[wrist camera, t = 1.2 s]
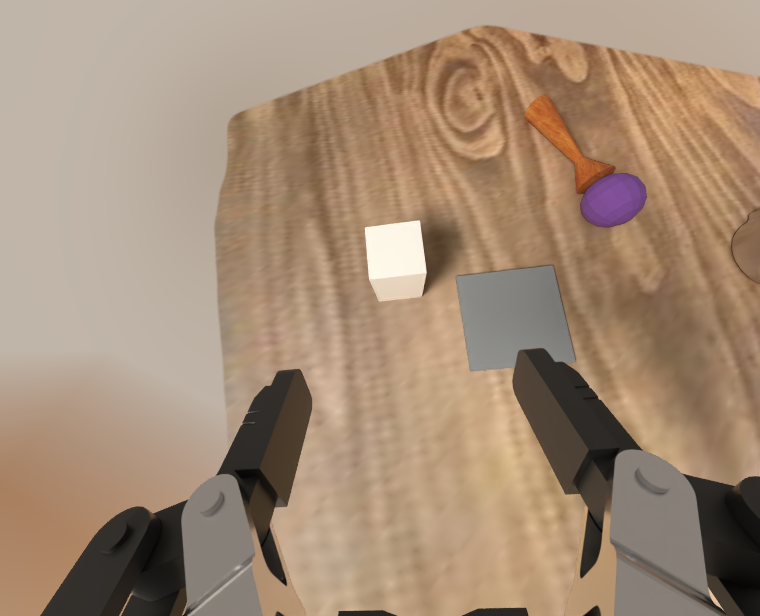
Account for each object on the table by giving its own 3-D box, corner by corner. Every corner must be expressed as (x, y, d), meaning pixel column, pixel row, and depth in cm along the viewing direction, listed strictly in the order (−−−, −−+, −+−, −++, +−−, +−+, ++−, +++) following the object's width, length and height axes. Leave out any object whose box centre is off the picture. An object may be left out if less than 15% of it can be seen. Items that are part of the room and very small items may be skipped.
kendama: (569, 79, 35) (673, 195, 29) (541, 124, 41) (624, 229, 35) (531, 87, 34) (630, 209, 28) (508, 132, 40) (587, 242, 34)
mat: (455, 277, 35) (456, 276, 35) (551, 266, 34) (552, 265, 34) (470, 371, 33) (470, 371, 32) (573, 362, 32) (575, 362, 31)
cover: (375, 261, 37) (364, 227, 28) (416, 256, 36) (419, 220, 27) (379, 301, 36) (369, 279, 26) (421, 296, 35) (426, 272, 26)
